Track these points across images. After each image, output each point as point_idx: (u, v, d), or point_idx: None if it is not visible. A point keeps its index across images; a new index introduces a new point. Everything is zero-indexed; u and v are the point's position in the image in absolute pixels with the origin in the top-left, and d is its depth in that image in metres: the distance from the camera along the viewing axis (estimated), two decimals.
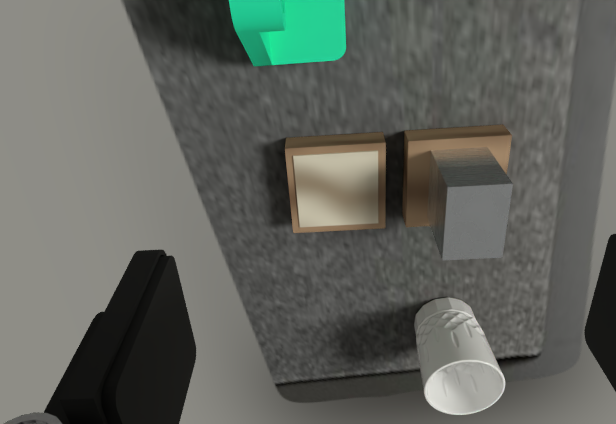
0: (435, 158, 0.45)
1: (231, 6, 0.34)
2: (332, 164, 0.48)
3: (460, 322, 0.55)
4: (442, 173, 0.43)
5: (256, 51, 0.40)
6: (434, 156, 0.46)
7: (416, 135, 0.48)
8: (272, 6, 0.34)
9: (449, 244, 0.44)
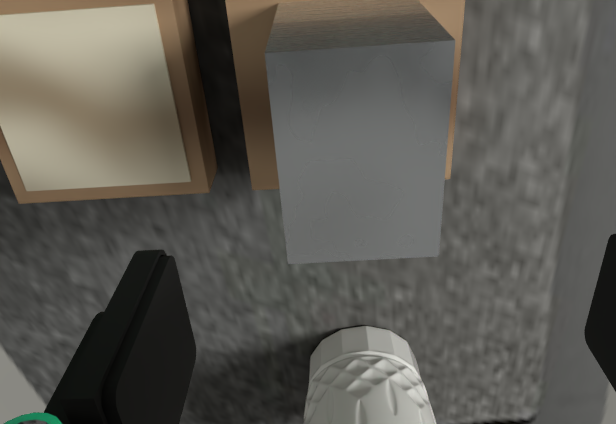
0: (278, 12, 0.18)
1: None
2: (55, 40, 0.20)
3: (379, 379, 0.28)
4: (273, 31, 0.16)
5: None
6: (279, 10, 0.19)
7: None
8: None
9: (297, 223, 0.17)
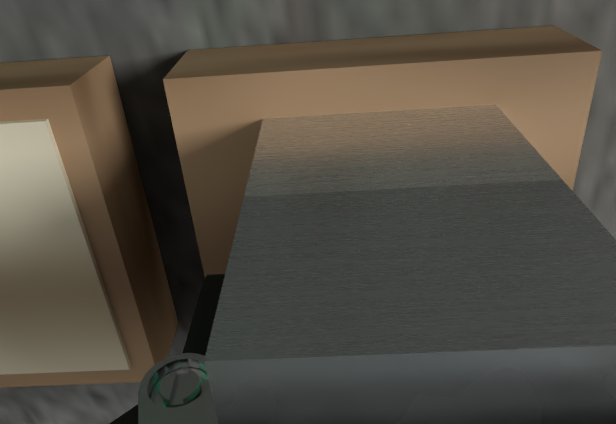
0: (259, 151, 0.10)
1: None
2: None
3: None
4: (241, 234, 0.07)
5: None
6: (261, 142, 0.10)
7: (214, 60, 0.12)
8: None
9: None
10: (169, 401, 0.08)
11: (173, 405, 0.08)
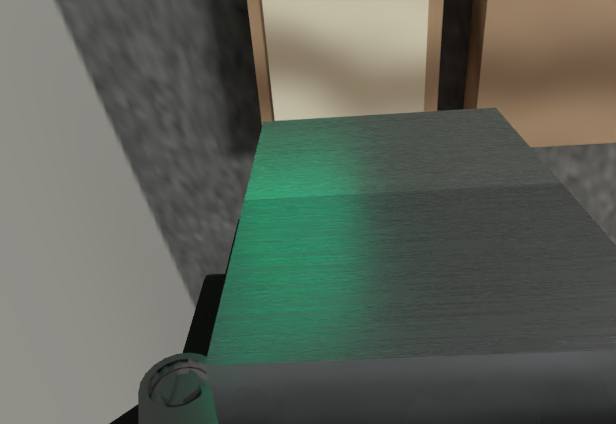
0: (260, 153, 0.10)
1: None
2: (338, 17, 0.24)
3: None
4: (242, 237, 0.08)
5: None
6: (261, 145, 0.10)
7: None
8: None
9: None
10: (169, 401, 0.08)
11: (173, 405, 0.08)
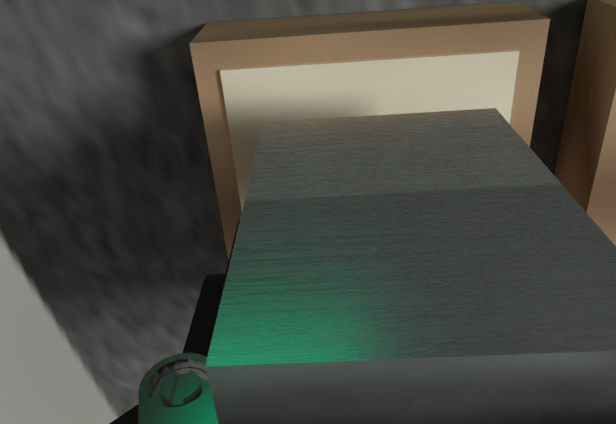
0: (260, 154, 0.10)
1: None
2: (356, 101, 0.14)
3: None
4: (242, 238, 0.08)
5: None
6: (261, 146, 0.10)
7: None
8: None
9: None
10: (169, 401, 0.08)
11: (173, 405, 0.08)
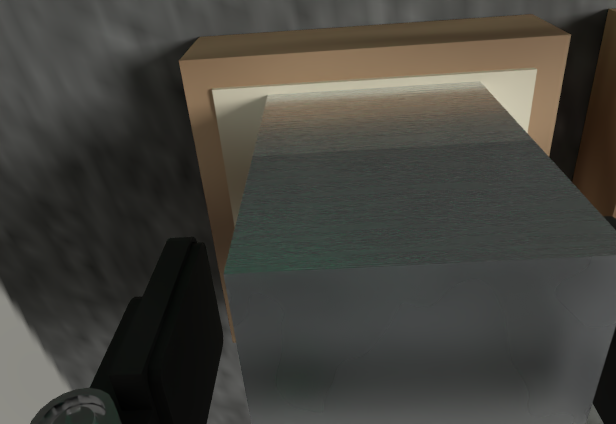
0: (265, 120, 0.11)
1: None
2: None
3: None
4: (251, 184, 0.09)
5: None
6: (267, 113, 0.11)
7: None
8: None
9: None
10: None
11: None
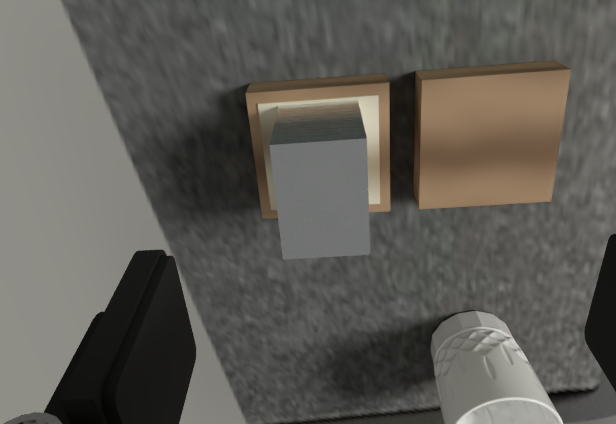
0: (278, 113, 0.32)
1: None
2: None
3: (495, 344, 0.40)
4: (274, 129, 0.29)
5: None
6: (278, 111, 0.32)
7: (432, 74, 0.33)
8: None
9: (288, 235, 0.29)
10: None
11: None
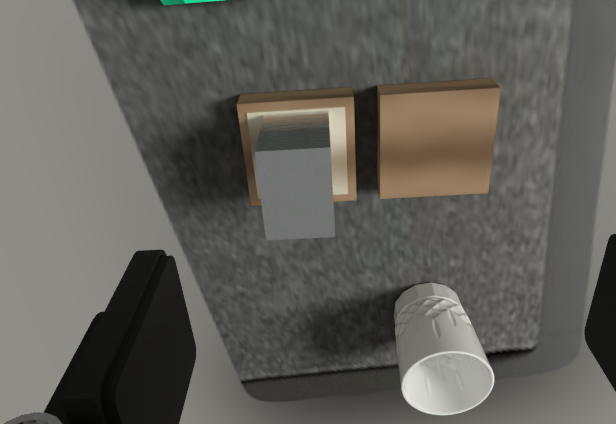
0: (262, 122, 0.39)
1: None
2: None
3: (443, 309, 0.48)
4: (259, 137, 0.37)
5: None
6: (263, 120, 0.39)
7: (390, 89, 0.41)
8: None
9: (270, 221, 0.37)
10: None
11: None
